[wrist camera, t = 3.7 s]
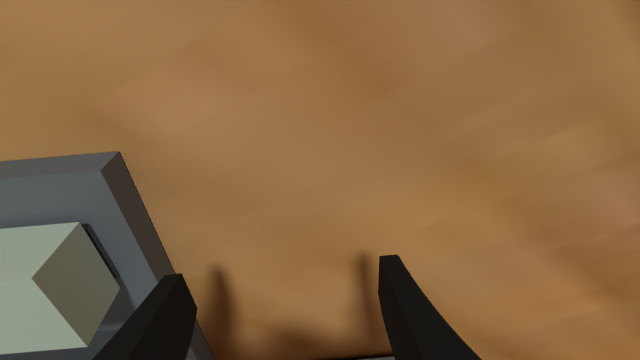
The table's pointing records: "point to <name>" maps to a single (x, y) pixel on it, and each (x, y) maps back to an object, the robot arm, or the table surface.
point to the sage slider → (51, 288)
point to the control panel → (92, 233)
